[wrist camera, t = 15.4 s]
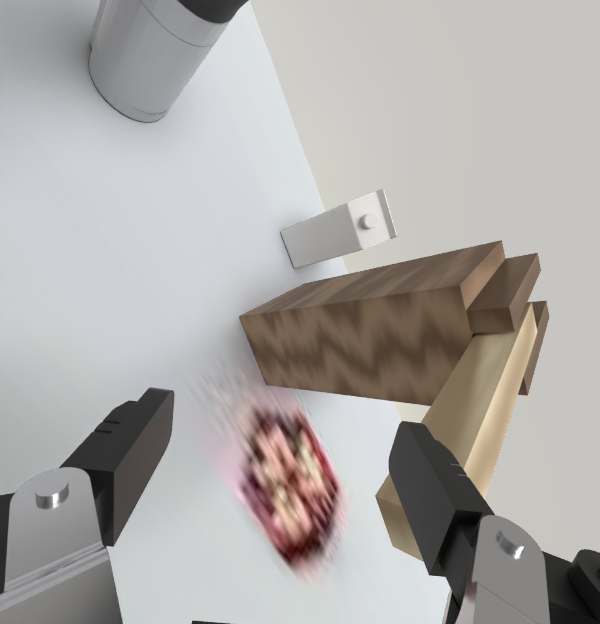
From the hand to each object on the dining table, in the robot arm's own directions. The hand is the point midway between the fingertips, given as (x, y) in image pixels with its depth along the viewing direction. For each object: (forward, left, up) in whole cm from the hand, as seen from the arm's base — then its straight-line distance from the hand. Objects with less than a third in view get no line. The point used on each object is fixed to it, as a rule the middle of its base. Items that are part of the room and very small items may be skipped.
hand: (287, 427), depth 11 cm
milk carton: (-6, +38, -33) cm, 50 cm away
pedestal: (+7, +28, -32) cm, 43 cm away
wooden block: (+7, +15, 0) cm, 17 cm away
